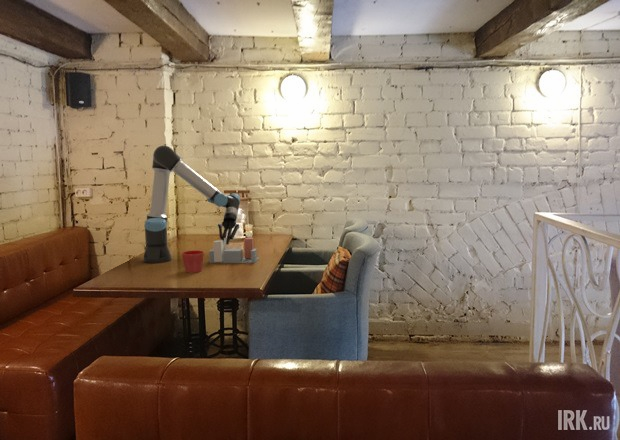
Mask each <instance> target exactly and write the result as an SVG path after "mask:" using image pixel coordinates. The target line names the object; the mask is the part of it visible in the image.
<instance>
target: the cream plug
mask: <svg viewBox="0 0 620 440" xmlns="http://www.w3.org/2000/svg"><path fill="white" fill-rule="evenodd" d="M212 244H213V249H214V262H222V261H224V250H223V240H221V239H220V240H213V243H212Z"/></svg>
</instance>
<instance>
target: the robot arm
mask: <svg viewBox="0 0 620 440" xmlns="http://www.w3.org/2000/svg"><path fill="white" fill-rule="evenodd" d="M151 165H152V170H153V171H154V175H153V183H152V191H151V201H150V209H149V210H150V211H149V213H147V215H146V219H145V221H144V232H145V233H144V234H145V236H144V237H145V250H144V252H143V257H142V258H143V262H144V263H145V264H146V263H148V264H151V263H153V264H157V263H158V264H159V263H165V262H169V261H171V260H172V254H171V252H170V249H169V246H168V232H167V230H168V228H167V226H168V225H167V224H168V216H167V214H166V211H167V203H168V192H169V186H170V183H169V182H170V177H171V175H170V174H171V173H174V174H176V175H177V176H179V178H181V179H182V180H184V181H185V182H186V183H187V184H189V185H190V186H191V187H192V188H194V189H195V190H197V191H198V192H199V193H201V195H203V196H205V198H207V199H206V201H207V202H208V203H210V204H213V205H215V206H216V207H219V208H221V207H222V208H225V210H224V215H223V220H222V222H221V224H219V223H218V224H217V227H218V230H219V231H218V233H219V238H220V240H223V251H224V250H226V249H227V246H228V245H229V244H230V241H231V240H234V238H235V235H236V233H237V231H238V230H239V229H240V225H239V223H238V224H237V219H238V213H239V208H240V203H241V196H240V195H239V194H238V193H230V194H228V195H227V194H224V193H223V192H221V191H220V190H219V189H218V188H217V187H215V186H214V185H213V184H211V183H210V182H209V181H208V180H207V179H205V178H204V177H203V176H201V175H200V174H199V173H198V172H196V171H195V170H194V169H193V168H191V167H190V166H189V165H188V164H187V163H185V162H184V161H183V159H182V158H181V157H180V156H179V155H178V154H177V153H176V152H175V151H174V150H173V148H171V147H170V146H168V145H160V146H157V147H156V148H155V150H154V151H153V154H152V164H151ZM222 229H223V230H222Z"/></svg>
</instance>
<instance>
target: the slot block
mask: <svg viewBox="0 0 620 440" xmlns="http://www.w3.org/2000/svg"><path fill="white" fill-rule="evenodd" d="M243 253H244V251H243V248H226V250H223V254H224V261H222V262H214V248H211V249H210V250H209V251H208V255H209V257H208V259H209V261H208V262H209V264H255V263H257V262H258V261H259V260H260V257H258V249H257V248H254V249H253V250H251V259H245V257H244V255H243Z"/></svg>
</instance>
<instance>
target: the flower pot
mask: <svg viewBox="0 0 620 440" xmlns="http://www.w3.org/2000/svg"><path fill="white" fill-rule="evenodd" d="M181 257H182V262H183V266H184V269H185V272H186V273H188V274H190V273H191V274H194V273H195V274H196V273H200V272H202V270H203V266H204V265H203V264H204V257H205V251H203V250H188V251H183V252H181Z"/></svg>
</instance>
